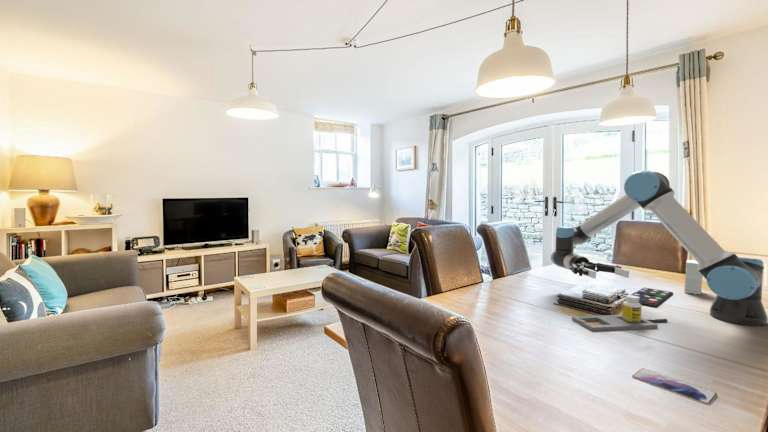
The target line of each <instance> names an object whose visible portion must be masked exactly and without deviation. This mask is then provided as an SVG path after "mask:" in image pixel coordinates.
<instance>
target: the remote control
mask: <svg viewBox="0 0 768 432" xmlns="http://www.w3.org/2000/svg"><path fill="white" fill-rule="evenodd" d="M635 293H636V295H635V296H638V297H639V302H638V303H640V304H641V306H646V307H651V308H655V309H656V308H658V307H659V306H660V305H661V304H662V303H664V302H665V301H666V300H667V299H669V298H670V297H671V296H673V295H674V292H673V291H668V290H663V289H662V290H661V289H655V288H649V287H643V288H640V289H639V290H637V291H636V292H635Z"/></svg>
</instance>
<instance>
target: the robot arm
mask: <svg viewBox="0 0 768 432" xmlns="http://www.w3.org/2000/svg"><path fill="white" fill-rule="evenodd" d="M623 190H624V193H625V194H624V195H623V196H621V197H620V198H618V199H617V200H615V201H613V202H612V203H611V204H609V205H608V206H607V207H604V208H603V209H601V210H600V211H599V212H597V213H596V214H594V215H593V216H591V217H590V218H588V219H587V220H586V221H584V222H582V223H581V224H580V225H577V226H576V227H575V228H574V227H572V226H565V225H564V226H563V225H562V226H557V227H556V229H555V230H556V232H555V250H554V251H553V252H552V253H551V255H550V260H551V262H552V264H554V265H555V266H558V267H560V268H563V269H565V270H566V269H567V270H569V271H571V273H573V274H575V275H578V276H579V277H583V275H584V276H586V277H589V278H592V279H596V278H597V273H599V272H605V273H610V274H614V275H616V276H620V277H623V278H625V279H626V278H627V279H628V278H630V270H627V269H623V268H622V267H621V266H619V265H612V264H605V263H602V262H601V263H600V262H597V263H596V262H592V261H590V260H589V259H588V257H586V256H581V255H579V254H575V253H574V246H576V245H583V244H585V243H586V242H588V241H589V240H590V238H592V237H593V236H596V235H597V234H598V233H601V232H602V231H603V230H605V229H607V228H608V227H610V226H611V225H613V224H615V223H617V222H618V221H619V220H621V219H624V217H626V216H627V215H629V214H630V213H632V212H634V211H636V210H637V209H639V208H642V210H643V211H650V212H651V213H652V214H653V215H654V216H655V217H656V218H657V219H658V220H659V221H660V223H661V224H662V225H663V226H664V228H666V230H667V231H668V232H669V233H670V234H671V235H672V236H673V237H674V238H675V239H676V241H677V242H678V243H679V244H680V245H681V246H682V247H683V248H684V249H685V251H686V252H688V254H690V256H691V257H692V258H693V259H694V260H695V261H697V262H698V271H699V272H700V273H701V274H702V277H703V278H704V279H705V280H706V283H707V287H708V288H709V289H710V291H711V292H712V293H714V294H715V295H716V296H715V298H714V300H713V302H712V304H711V306H710V309H709V315H710V316H711V317H713V318H716V319H717V320H721V321H726V322H729V323H734V324H740V325H748V326H759V327H760V326H766V325H768V315H767V313H766V309H765V307H764V304H763V302H762V298H763V297H762V296H763V294H762V293H763V277H764V276H763V275H764V270H765V266H764V262H763V260H762V259H760V258H759V259H758V258H750V257H739V256H738V255H737V254H736V253H734V252H732V251H727V250H725V249H724V248H723V247H722V246H721V245H720V244H719V243H718V242H717V241H716V240H715V238H713V236H712V235H710V234H709V233H708V232H707V230H705V229H704V227H702V225H701V224H700V223H699V222H698V221H697V220H696V219H695V218H694V217H693V216H692V215H691V214H690V213H689V212H688V211H687V209H685V208H684V206H683V205H681V203H679V202H678V201H677V199H676V198H675V191H674V189H672V187H671V185H670V180H669V178H668V177H667V176H666V175H664V174H663V173H661V172H657V171H651V170H639V171H636V172H633V173H631V174H630V175H629V176H628V177H627V178H626V179H625V182H624V184H623Z"/></svg>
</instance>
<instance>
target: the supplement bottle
mask: <svg viewBox="0 0 768 432" xmlns="http://www.w3.org/2000/svg"><path fill="white" fill-rule="evenodd" d="M625 299H626V301H624V300H623V303H622V315H623V316H622V320H623V321H625V322H628V323H630V324H635V323H641V318H642V305H641V304H640V303H638V302H639V297H638V296H634V295H633V294H627V295H625Z"/></svg>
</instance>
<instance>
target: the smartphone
mask: <svg viewBox="0 0 768 432" xmlns="http://www.w3.org/2000/svg"><path fill="white" fill-rule="evenodd" d="M632 377H633V378H632ZM631 378H632V379H634V378H635V380H637V379H638V380H637V381H640V382H643V383H645V382H646V384H648V383H649V385H651V386H654V387H656V386H657V388H659V387H660V389H662V388H663V389H662V390H664V391H667V390H669V391H668V392H670V391H671V392H670V393H673V392H675V393H674V394H676V393H677V394H676V395H678V394H680V395H679V396H681V395H682V396H681V397H684V396H685V397H684V398H687V397H688V398H687V399H689V398H690V399H691V400H692V399H693V401H695V400H696V401H695V402H699V403H700V402H701V404H703V403H704V405H706V404H707V405H706V406H710V405H712V403H713V402H714V400H716V398H718V393H717V392H716V391H712V390H709V389H706V388H703V387H700V386H697V385H694V384H691V383H689V382H685V381H682V380H680V379H677V378H674V377H670V376H668V375H666V374H665V375H664V374H662V373H659V372H656V371H653V370H650V369H647V368H644V367H643V368H640V369H639V370H638V371H637V372H635V373H634V374H632V376H631ZM690 399H689V400H690Z"/></svg>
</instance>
